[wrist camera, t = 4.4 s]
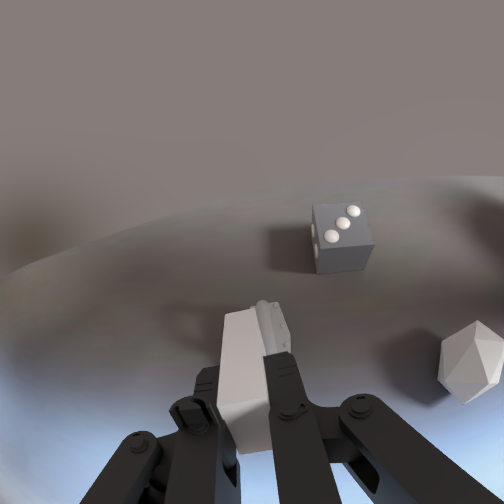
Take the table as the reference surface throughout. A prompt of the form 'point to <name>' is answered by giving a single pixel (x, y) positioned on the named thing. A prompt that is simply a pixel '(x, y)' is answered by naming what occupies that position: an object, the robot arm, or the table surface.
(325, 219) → the dotted block
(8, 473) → the table surface
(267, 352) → the padlock
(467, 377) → the die
